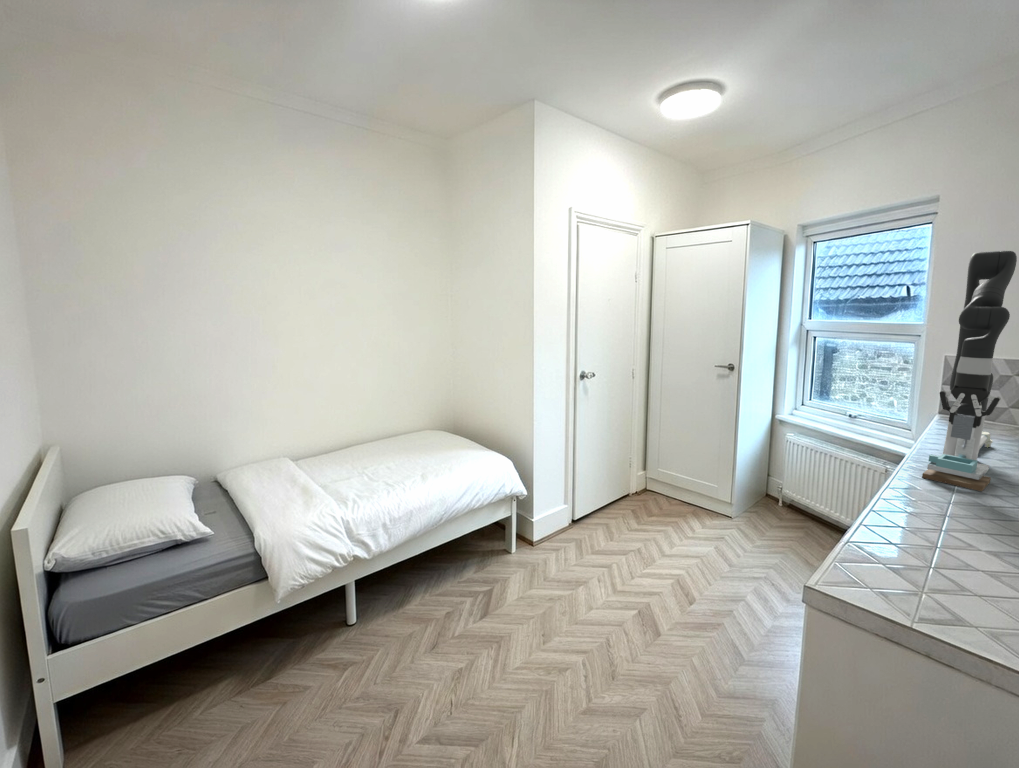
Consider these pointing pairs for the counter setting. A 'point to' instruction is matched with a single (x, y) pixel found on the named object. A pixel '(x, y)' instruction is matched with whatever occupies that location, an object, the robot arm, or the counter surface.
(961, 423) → the brushed steel block
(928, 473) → the foot plate
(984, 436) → the cream flanged bar
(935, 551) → the counter surface
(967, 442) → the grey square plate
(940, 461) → the bracket head
